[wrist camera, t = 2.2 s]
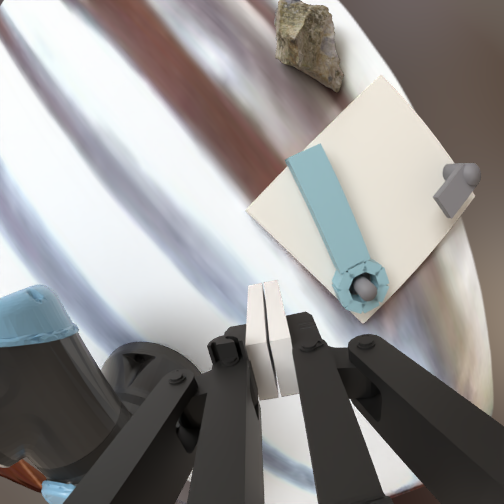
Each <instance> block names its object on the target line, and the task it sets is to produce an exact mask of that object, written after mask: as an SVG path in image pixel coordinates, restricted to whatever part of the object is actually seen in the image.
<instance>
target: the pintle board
mask: <svg viewBox="0 0 504 504" xmlns="http://www.w3.org/2000/svg"><path fill="white" fill-rule="evenodd" d="M320 143H321V145H322V147H323V149H324V151H325V153H326V155H327V157H328V159H329V162H330V164H331V166H332V168H333V170H334V172H335V174H336V176H337V179H338V181H339V183H340V185H341V187H342V190H343V192H344V194H345V196H346V199H347V201H348V203H349V206H350V208H351V210H352V213H353V215H354V217H355V220H356V222H357V225H358V227H359V230H360V232H361V235H362V237H363V240H364V242H365V245H366V247H367V250H368V253H369V255H370V258H371V259H373V260H375V261H376V262H378V263H379V264H381V265H382V267H384V268H385V271H386V274H387V277H388V280H389V284H387V285H388V286H389V289H388V291H387V293H386V295H385V298H384V300H383V302H382V303H381V302H379V305H380V306H378V307H376V308H374V309H372V310H370V311H368V312H367V313H364V312H363V311H362V313H361V314H360V313H356V312H353V311H350V312H351V313H352V314H353V315H354V316H355V317H357V318H358V319H359V320H360V321H361V322H362V323H363V324H364V323H365V322H366V321H367V320H368V319H369V318H370V317H371V316H372V315H373V314H374V313H375V312H376V311H377V310H378V309H379V308H380V307H381V306H382V305H383V304H384V303H385V302H386V301H387V300H388V299H389V298H390V297H391V296H392V295H393V294H394V293H395V292H396V291H397V289H398V288H399V287H400V286H401V285H402V284H403V283H404V282H405V281H406V280H407V279H408V278H409V277H410V276H411V274H412V273H413V272H414V271H415V270H416V269H417V268H418V267H419V266H420V264H421V263H422V262H423V261H424V260H425V259H426V258H427V256H428V255H429V254H430V253H431V252H432V251H433V249H434V248H435V247H436V246H437V245H438V244H439V242H440V241H441V240H442V239H443V237H444V236H445V235H446V234H447V233H448V231H449V230H450V229H451V228H452V226H453V225H454V224H455V222H456V221H457V220H458V219H459V217H460V216H461V215H462V213H463V212H464V211H465V209H466V208H467V207H468V205H469V204H470V203H471V201H472V200H473V199H474V197H475V195H474V194H473V192H472V191H473V190H474V189H475V187H476V186H477V184H478V183H479V182H480V179H481V172H480V169H479V167H478V166H477V165H476V164H475V163H456V164H454V162H453V161H452V159H451V158H450V157H449V155H448V154H447V152H446V151H445V149H444V148H443V147H442V145H441V144H440V142H439V141H438V140H437V138H436V137H435V136H434V135H433V133H432V132H431V131H430V129H429V128H428V127H427V126H426V124H425V123H424V122H423V121H422V119H421V118H420V117H419V116H418V115H417V113H416V112H415V111H414V110H413V109H412V107H411V106H410V105H409V104H408V103H407V102H406V101H405V99H404V98H403V97H402V96H401V95H400V94H399V93H398V92H397V91H396V89H395V88H394V87H393V86H392V85H391V84H390V83H389V82H388V81H387V80H386V79H385V78H384V77H383V76H382V75H380V76H379V77H378V78H377V79H376V80H374V81H373V82H372V83H371V84H370V85H369V86H368V87H367V88H366V89H365V90H364V91H363V92H362V93H361V94H360V95H359V96H358V97H357V98H356V99H355V100H354V101H353V102H352V103H351V104H349V105H348V106H347V107H346V108H345V109H344V110H343V111H342V112H341V113H340V114H339V115H338V116H337V117H336V118H335V119H334V120H333V121H332V122H331V123H330V124H329V125H328V126H327V127H326V128H325V129H324V130H323V131H322V132H321V133H320V134H319V135H318V136H317V137H316V138H315V139H314V140H313V141H312V142H311V143H310V144H309V145H308V146H307V147H306V148H305V149H304V150H307V149H309V148H311V147H313V146H315V145H318V144H320ZM304 150H303V151H304ZM246 212H247V213H248V214H249V215H250V216H251V217H252V218H254V219H255V220H256V221H257V222H258V223H259V224H260V225H261V226H262V227H263V228H264V229H265V230H266V231H267V232H268V233H270V234H271V235H272V236H273V237H274V238H275V239H276V240H277V241H278V242H279V243H280V244H281V245H282V246H283V247H284V248H285V249H286V250H287V251H289V252H290V253H291V254H292V255H293V256H294V257H295V258H296V259H297V260H298V261H299V262H300V263H301V264H302V265H303V266H304V267H305V268H306V269H307V270H308V271H309V272H310V273H311V274H313V275H314V276H315V277H316V278H317V279H318V280H319V281H320V282H321V283H322V284H323V285H324V286H325V287H326V288H327V289H328V290H329V291H330V292H331V293H332V294H333V295H334V296H335V297H336V298H337V296H336V294H335V291H334V289H333V287H332V284H333V282H332V279H333V276H334V274H335V271H336V268H335V267H334V265H333V262H332V260H331V258H330V255H329V253H328V251H327V249H326V246H325V244H324V242H323V240H322V237H321V235H320V233H319V231H318V228H317V226H316V224H315V222H314V220H313V218H312V215H311V213H310V211H309V209H308V207H307V205H306V203H305V200H304V198H303V196H302V194H301V192H300V190H299V188H298V186H297V184H296V182H295V180H294V178H293V176H292V174H291V172H290V170H289V168H288V166H287V167H286V168H285V169H284V170H283V171H282V173H281V174H280V175H279V176H278V177H277V178H276V179H275V180H274V181H273V182H272V183H271V184H270V185H269V186H268V187H267V188H266V189H265V190H264V191H263V192H262V193H261V194H260V195H259V196H258V197H257V198H256V200H255V201H254V202H253V203H252V204H251V205H250V206H249V207H248V208H247V209H246ZM370 280H371V277H370V275H369V273H367V272H364V273H362V274H360V275H358V276H356V277H354V278H353V281H352V283H351V285H350V288H349V291H350V293H352V294H355V295H357V294H359V296H360V297H361V298H362V299H363V300H364V301H371V300H373V299H374V298H375V297H376V295H377V288H376V286H375V285H373V284H372V283H371V282H370ZM337 299H338V298H337Z"/></svg>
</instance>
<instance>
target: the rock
mask: <svg viewBox="0 0 504 504" xmlns="http://www.w3.org/2000/svg"><path fill="white" fill-rule="evenodd" d="M328 11H329V9H328V8H327V7H326V6H323V5H321V6H320V5H311V4H310V5H308V4H305V3H303V2H302V1H300V0H280V1H279V2H278V8H277V10H276V12H275V13H276V14H275V16H276V18H275V20H274V24H275V27H276V41H277V48H276V55H275V56H276V59H279V60H280V61H281V62H282V63H284V64H287V65H290V66H294V67H295V68H297V69H298V70H300V71H303V72H304V73H305V74H307V75H309V76H311V77H312V78H314V79H316V80H318V81H319V82H320V83H321V84H323V85H325V86H326V87H328V88H331V89H333V90H334V91H335V92H338V91H339V90H340V86H341V82H342V79H343V77H344V74H343V72H342V71H341V69H340V67H339V63H340V59H339V57H338V55H337V53H336V49H335V41H334V35H335V32H334V24H333V21H332V15H331V14H330V13H329V12H328Z"/></svg>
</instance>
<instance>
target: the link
mask: <svg viewBox="0 0 504 504" xmlns="http://www.w3.org/2000/svg"><path fill="white" fill-rule="evenodd" d="M285 162H286V164H287V166H288V168H289V170H290V172H291V174H292V176H293V178H294V180H295V182H296V184H297V186H298V188H299V190H300V192H301V194H302V196H303V198H304V200H305V203H306V205H307V207H308V209H309V211H310V213H311V215H312V218H313V220H314V222H315V224H316V226H317V228H318V231H319V233H320V235H321V237H322V240H323V242H324V244H325V246H326V249H327V251H328V253H329V255H330V258H331V260H332V262H333V265H334V267H335V268H336V271H335V274H334V276H333V279H332V282H333V284H332V287H333V289H334V291H335V294H336V296H337V298H338V300H339V301H340V303H341V304H342V306H343V307H345V309H346V310H349V311H353V312H356V313H360V314H361V313H362V311H363V312H364V313H367V312H368V311H370V310H372V309H374V308H376V307H378V306H380V305H379V302H381V303H382V302H383V300H384V298H385V295H386V293H387V291H388V289H389V286H388V285H387V284H389V280H388V277H387V274H386V271H385V268H384V267H382V265H381V264H379V263H378V262H376V261H375V260H373V259H371V258H370V255H369V253H368V250H367V247H366V245H365V242H364V240H363V237H362V235H361V232H360V230H359V227H358V225H357V222H356V220H355V217H354V215H353V213H352V210H351V208H350V206H349V203H348V201H347V199H346V196H345V194H344V192H343V190H342V187H341V185H340V183H339V181H338V179H337V176H336V174H335V172H334V170H333V168H332V166H331V164H330V162H329V159H328V157H327V155H326V153H325V151H324V149H323V147H322V145H321V143H320V144H318V145H315V146H313V147H311V148H309V149H307V150H304V151H302V152H300V153H298V154H296V155H293V156H291V157H289V158H287V159H286V160H285ZM364 272H367V273H369V275H370V277H371V280H370V282H371V283H372V284H373V285H375V286H376V288H377V295H376V297H375V298H374V299H373V300H371V301H364V300H363V299H362V298H361V297H360V296H359V294H357V295H355V294H352V293H350V291H349V288H350V285H351V283H352V281H353V278H354V277H356V276H358V275H360V274H362V273H364Z"/></svg>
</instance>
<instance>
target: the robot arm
mask: <svg viewBox="0 0 504 504" xmlns="http://www.w3.org/2000/svg"><path fill="white" fill-rule="evenodd" d="M264 288H265V296H264V291H263V286H262V283H259V284H254V285H249V286H248V303H247V323H246V324H244V325H238V326H233V327H229V328H228V330H227V331H226V332H225V333H224V336H220V337H217V338H215V339H213V340H212V341H211V342H209V344H208V345H207V347H208V351H209V354H210V357H211V360H212V363H213V366H212V370H211V371H209V372H207V373H204V374H201V373H200V372H199V370H198V369H197V368H196V367H195V366H194V365H193V364H192V363H191V362H190V361H189V360H188V359H186V358H185V357H184V356H182V355H181V354H179V353H178V352H176V351H174V350H172V349H170V348H167V347H165V346H162V345H159V344H155V343H149V342H133V343H128V344H125V345H123V346H120V347H119V348H117V349H116V350H115V351H113V353H112V354H111V355H110V356H109V358H108V359H107V360H106V362H105V363H104V365H103V367H102V370H100V369H99V367H98V365H97V364H96V362H95V361H94V359H93V357H92V356H91V354H90V352H89V351H88V349H87V347H86V346H85V344H84V342H83V341H82V339H81V337H80V335H79V333H78V331H79V329H78V327H77V325H75V324H74V323H72V321H71V319H70V317H69V316H68V314H67V312H66V310H65V309H64V307H63V305H62V303H61V302H60V300H59V298H58V296H57V295H56V293H55V292H54V291H53V290H52V289H50V288H49V287H47V286H44V285H34V286H30V287H28V288H25V289H22V290H20V291H17V292H14V293H12V294H9V295H7V296H4V297H1V298H0V467H3V468H6V467H10V466H11V465H13V464H15V463H16V462H18V461H19V460H21V459H23V458H25V457H27V458H28V459H29V460H30V461H31V462H32V463H33V464H34V465H35V466H36V467H37V468H38V469H39V470H40V471H41V472H42V473H43V474H44V475H45V476H46V478H47V479H46V481H43V483H42V491H41V492H42V495H43V497H44V498H45V500H46V501H47V502H48V503H49V504H175V502H176V500H177V498H178V496H179V494H180V492H181V490H182V488H183V486H184V484H185V482H186V481H187V479H188V477H189V475H190V473H191V471H192V469H193V473H192V478H191V485H190V490H189V496H188V501H187V504H264V480H263V455H262V431H261V408H260V405H259V401H258V395H259V399H260V400H266V399H272V398H278V388H277V378H278V383H279V387H280V392H281V397H284V396H289V395H294V394H300V400H301V406H302V412H303V416H304V422H305V428H306V433H307V439H308V445H309V451H310V456H311V462H312V468H313V474H314V480H315V486H316V492H317V499H318V504H394V503H393V501H392V500H391V498H390V497H389V496H385V494H384V493H383V491H382V488H381V485H380V482H379V479H378V477H377V474H376V471H375V468H374V465H373V462H372V460H371V457H370V454H369V451H368V449H367V446H366V443H365V440H364V438H363V435H362V432H361V430H360V427H359V424H358V422H357V419H356V416H355V414H354V411H353V408H352V406H351V403H350V400H349V399H351V401H352V403H353V404H354V406H355V407H356V408H357V409H358V410H359V411H360V413H361V414H362V415H363V416H364V417H365V418H366V419H367V421H368V422H369V423H370V424H371V425H372V426H373V428H374V429H375V430H376V431H377V432H378V433H379V434H380V436H381V437H382V438H383V439H384V440H385V441H386V442H387V444H388V445H389V446H390V447H391V448H392V449H393V450H394V452H395V453H396V454H397V455H398V456H399V457H400V458H401V460H402V461H403V462H404V463H405V464H406V465H407V466H408V467H409V469H410V470H411V471H412V472H413V473H414V474H415V475H416V476H417V478H418V479H419V480H420V481H421V482H422V483H423V484H424V485H425V486H426V488H427V489H428V490H429V491H430V492H431V493H432V494H433V495H434V496H435V497H436V499H438V501H439V502H440V503H441V504H504V426H502V425H501V424H500V423H498V422H497V421H496V420H494V419H493V418H492V417H490V416H489V415H487V414H486V413H485V412H483V411H482V410H481V409H479V408H478V407H476V406H475V405H474V404H472V403H471V402H470V401H468V400H467V399H465V398H464V397H463V396H461V395H460V394H459V393H457V392H456V391H454V390H453V389H452V388H450V387H449V386H448V385H446V384H445V383H443V382H442V381H441V380H439V379H438V378H437V377H435V376H434V375H432V374H431V373H430V372H428V371H427V370H425V369H424V368H423V367H421V366H420V365H419V364H417V363H416V362H414V361H413V360H412V359H410V358H409V357H407V356H406V355H405V354H403V353H402V352H401V351H399V350H398V349H396V348H395V347H394V346H392V345H391V344H389V343H388V342H387V341H385V340H384V339H382V338H381V337H379V336H377V335H372V334H366V335H365V334H364V335H360V336H357V337H355V338H353V339H352V340H351V341H350V342H349V344H348V348H334V347H330V346H328V345H327V343H326V342H325V341H324V340H322V338H321V336H320V334H319V331H318V329H317V326H316V324H315V322H314V319H313V317H312V315H310V314H309V313H307V312H302V313H297V314H292V315H288V316H286V315H285V311H284V307H283V302H282V298H281V294H280V289H279V285H278V281H277V280H274V281H269V282H264ZM265 299H266V301H265ZM276 373H277V378H276Z"/></svg>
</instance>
